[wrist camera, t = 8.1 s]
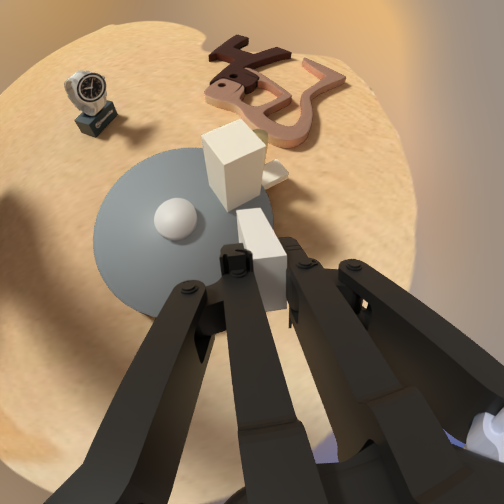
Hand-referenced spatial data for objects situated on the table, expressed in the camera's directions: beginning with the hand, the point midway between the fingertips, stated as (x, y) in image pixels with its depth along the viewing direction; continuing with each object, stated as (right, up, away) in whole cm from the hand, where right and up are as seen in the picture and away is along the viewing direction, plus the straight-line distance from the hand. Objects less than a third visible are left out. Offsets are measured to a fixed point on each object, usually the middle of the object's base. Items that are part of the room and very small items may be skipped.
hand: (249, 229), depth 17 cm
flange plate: (-6, +2, +12) cm, 14 cm away
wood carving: (+1, +28, +24) cm, 37 cm away
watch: (-25, +20, +19) cm, 37 cm away
